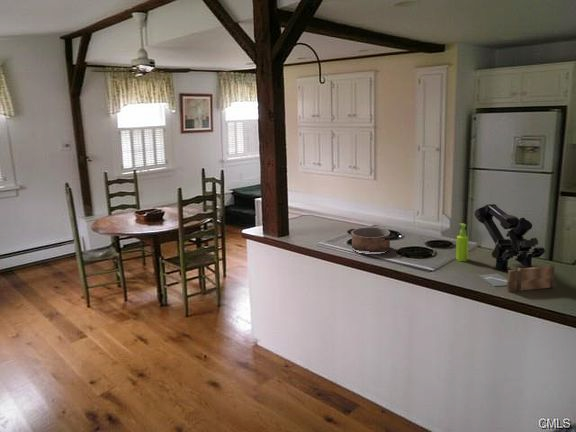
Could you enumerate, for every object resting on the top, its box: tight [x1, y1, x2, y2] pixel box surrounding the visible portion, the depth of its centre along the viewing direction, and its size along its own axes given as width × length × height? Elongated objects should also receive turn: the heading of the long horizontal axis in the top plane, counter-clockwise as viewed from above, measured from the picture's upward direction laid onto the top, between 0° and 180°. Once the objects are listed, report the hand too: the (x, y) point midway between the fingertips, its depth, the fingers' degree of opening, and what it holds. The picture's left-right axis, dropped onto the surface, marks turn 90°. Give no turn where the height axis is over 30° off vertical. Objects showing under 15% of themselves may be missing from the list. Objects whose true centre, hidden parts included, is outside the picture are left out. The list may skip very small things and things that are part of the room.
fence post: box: [506, 267, 523, 293], centre depth 205 cm, size 6×2×10 cm, turn 96°
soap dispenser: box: [455, 222, 470, 262], centre depth 247 cm, size 6×7×20 cm
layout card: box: [478, 273, 508, 288], centre depth 219 cm, size 14×10×1 cm
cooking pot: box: [347, 226, 396, 252], centre depth 272 cm, size 30×22×11 cm
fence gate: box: [521, 264, 556, 291], centre depth 206 cm, size 15×2×10 cm, turn 96°
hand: (530, 270), depth 210 cm, fingers closed
